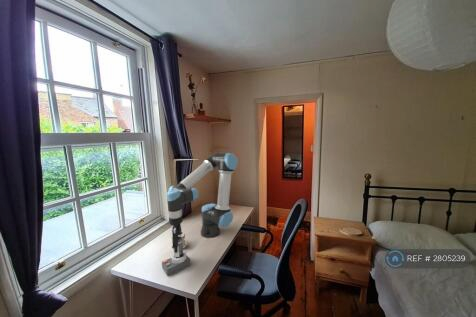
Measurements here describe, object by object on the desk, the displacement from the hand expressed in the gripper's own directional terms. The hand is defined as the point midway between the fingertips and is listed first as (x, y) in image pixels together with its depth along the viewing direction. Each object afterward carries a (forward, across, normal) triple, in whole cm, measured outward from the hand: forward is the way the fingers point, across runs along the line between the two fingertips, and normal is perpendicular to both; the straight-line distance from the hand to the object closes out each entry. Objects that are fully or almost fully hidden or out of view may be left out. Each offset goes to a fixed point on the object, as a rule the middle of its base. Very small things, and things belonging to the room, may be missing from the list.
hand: (178, 250), depth 117 cm
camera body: (+10, +1, -2) cm, 10 cm away
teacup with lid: (+10, -19, -2) cm, 21 cm away
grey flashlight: (+6, 0, 0) cm, 6 cm away
